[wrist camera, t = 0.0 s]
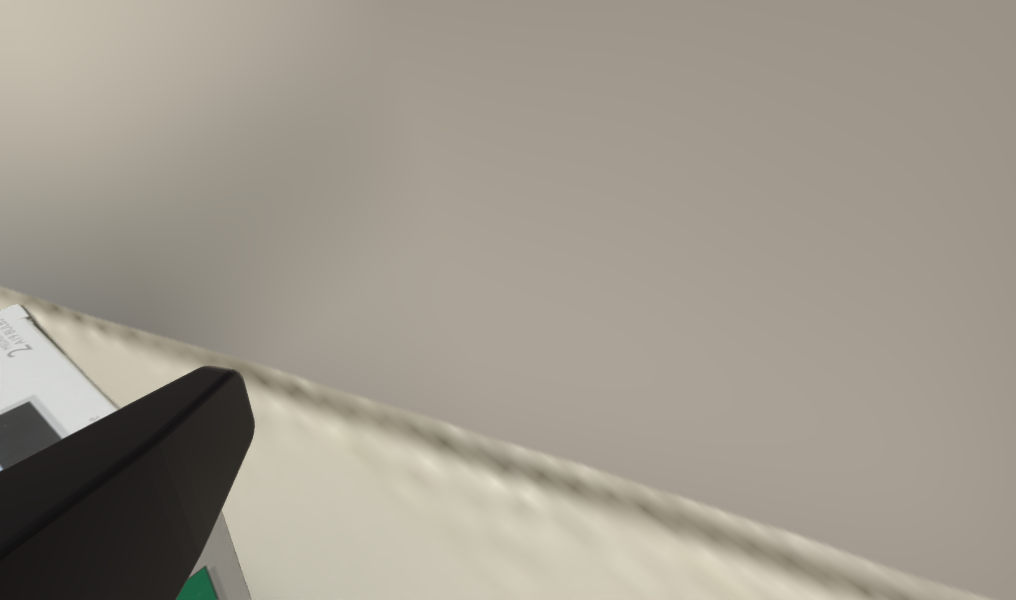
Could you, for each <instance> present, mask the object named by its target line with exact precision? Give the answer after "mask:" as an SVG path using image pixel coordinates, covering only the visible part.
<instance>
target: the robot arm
mask: <svg viewBox="0 0 1016 600" xmlns="http://www.w3.org/2000/svg"><path fill="white" fill-rule="evenodd" d="M254 429H255V422H254V417H253V413H252V409H251V405H250V401H249V398H248V394H247V390H246V386H245V382H244V379H243V376H242V375H241V374H240V373H239V372H238V371H236V370H234V369H228V368H222V367H216V366H203V367H200V368H198V369H196V370H194V371H192V372H190V373H188V374H186V375H184V376H182V377H181V378H179V379H177V380H175V381H173V382H171V383H169V384H167V385H165V386H163V387H161V388H159V389H157V390H155V391H153V392H152V393H150V394H148V395H146V396H144V397H142V398H140V399H138V400H136V401H134V402H132V403H130V404H128V405H126V406H125V407H123V408H121V409H119V410H117V411H115V412H113V413H111V414H109V415H107V416H105V417H103V418H101V419H99V420H97V421H96V422H94V423H92V424H90V425H88V426H86V427H84V428H82V429H80V430H78V431H76V432H74V433H72V434H70V435H69V436H67V437H65V438H63V439H61V440H59V441H57V442H55V443H53V444H51V445H49V446H47V447H45V448H43V449H41V450H40V451H38V452H36V453H34V454H32V455H30V456H28V457H26V458H24V459H22V460H20V461H18V462H16V463H14V464H12V465H11V466H9V467H7V468H5V469H3V470H1V471H0V600H176V599H177V597H178V596H179V594H180V592H181V590H182V589H183V587H184V585H185V583H186V582H187V580H188V578H189V576H190V575H191V573H192V571H193V569H194V567H195V565H196V563H197V562H198V560H199V558H200V556H201V554H202V552H203V550H204V548H205V546H206V544H207V541H208V539H209V537H210V535H211V533H212V530H213V528H214V526H215V524H216V521H217V519H218V517H219V515H220V512H221V510H222V508H223V505H224V503H225V501H226V499H227V496H228V494H229V492H230V490H231V487H232V485H233V483H234V480H235V478H236V476H237V474H238V471H239V469H240V467H241V465H242V462H243V460H244V458H245V455H246V453H247V451H248V449H249V446H250V444H251V441H252V439H253V435H254Z"/></svg>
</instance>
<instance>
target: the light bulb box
mask: <svg viewBox="0 0 1016 600" xmlns="http://www.w3.org/2000/svg"><path fill="white" fill-rule="evenodd" d="M119 409H121V407H120V406H119V405H118V404H117V403H116V402H115V401H113V400H112V399H111V398H110V397H109V396H108V395H107V394H106V393H105V392H104V391H103V390H102V389H101V388H100V387H99V386H98V385H97V384H96V383H95V382H94V381H93V380H92V379H91V378H90V377H89V376H88V375H87V374H86V373H85V372H84V371H83V370H82V369H81V367H80V366H79V365H78V364H77V363H76V362H75V361H74V360H73V359H72V358H71V357H70V356H69V355H68V353H67V352H66V351H65V350H64V349H63V348H62V347H61V346H60V345H59V344H58V343H57V341H56V340H55V339H54V338H53V337H52V336H51V335H50V334H49V333H48V332H47V330H46V329H45V328H44V327H43V326H42V325H41V324H40V323H39V322H38V320H37V319H36V318H35V316H34V315H33V314H32V313H31V312H30V311H29V310H28V308H27V307H26V306H25V305H12V306H10V307H7V308H5V309H3V310H0V471H1V470H3V469H5V468H7V467H9V466H11V465H12V464H14V463H16V462H18V461H20V460H22V459H24V458H26V457H28V456H30V455H32V454H34V453H36V452H38V451H40V450H41V449H43V448H45V447H47V446H49V445H51V444H53V443H55V442H57V441H59V440H61V439H63V438H65V437H67V436H69V435H70V434H72V433H74V432H76V431H78V430H80V429H82V428H84V427H86V426H88V425H90V424H92V423H94V422H96V421H97V420H99V419H101V418H103V417H105V416H107V415H109V414H111V413H113V412H115V411H117V410H119ZM176 600H251V597H250V593H249V590H248V587H247V585H246V582H245V579H244V576H243V573H242V570H241V567H240V564H239V562H238V557H237V555H236V552H235V549H234V546H233V543H232V539H231V536H230V533H229V530H228V527H227V524H226V521H225V518H224V515H223V512H222V510H221V512H220V515H219V517H218V519H217V521H216V524H215V526H214V528H213V530H212V533H211V535H210V537H209V539H208V541H207V544H206V546H205V548H204V550H203V552H202V554H201V556H200V558H199V560H198V562H197V563H196V565H195V567H194V569H193V571H192V573H191V575H190V576H189V578H188V580H187V582H186V583H185V585H184V587H183V589H182V590H181V592H180V594H179V596H178V597H177V599H176Z"/></svg>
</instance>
